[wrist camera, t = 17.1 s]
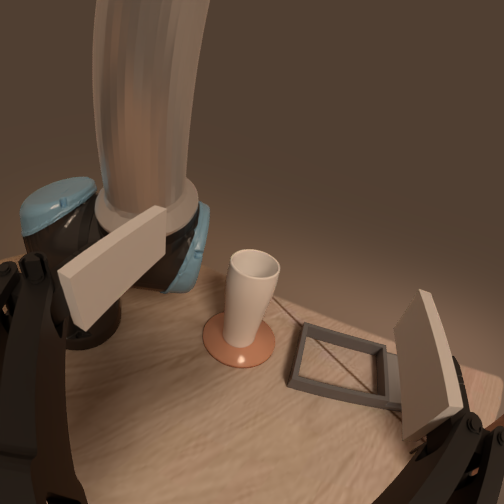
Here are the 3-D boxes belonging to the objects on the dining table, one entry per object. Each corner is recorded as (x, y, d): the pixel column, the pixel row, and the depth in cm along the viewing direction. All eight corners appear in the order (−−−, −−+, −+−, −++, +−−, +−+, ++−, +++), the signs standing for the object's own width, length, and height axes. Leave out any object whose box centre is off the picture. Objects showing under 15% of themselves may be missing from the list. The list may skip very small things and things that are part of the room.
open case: (286, 386, 37) (291, 378, 36) (300, 331, 47) (304, 321, 46) (449, 415, 32) (458, 409, 31) (441, 367, 43) (447, 359, 41)
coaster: (190, 350, 39) (190, 348, 39) (218, 304, 50) (219, 302, 49) (264, 378, 38) (265, 376, 37) (280, 326, 48) (281, 324, 47)
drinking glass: (265, 347, 42) (290, 275, 34) (226, 357, 39) (241, 282, 31) (248, 318, 47) (266, 246, 39) (212, 325, 44) (222, 250, 36)
